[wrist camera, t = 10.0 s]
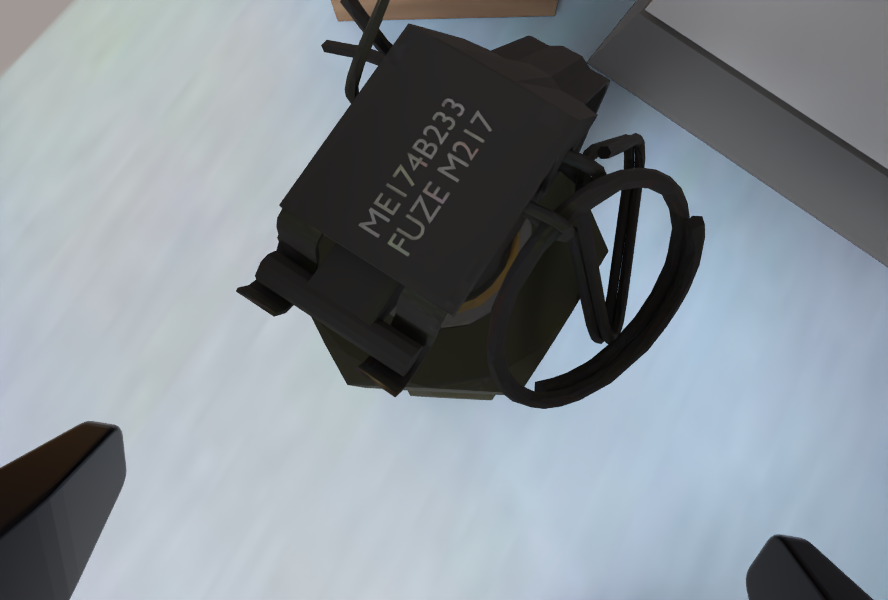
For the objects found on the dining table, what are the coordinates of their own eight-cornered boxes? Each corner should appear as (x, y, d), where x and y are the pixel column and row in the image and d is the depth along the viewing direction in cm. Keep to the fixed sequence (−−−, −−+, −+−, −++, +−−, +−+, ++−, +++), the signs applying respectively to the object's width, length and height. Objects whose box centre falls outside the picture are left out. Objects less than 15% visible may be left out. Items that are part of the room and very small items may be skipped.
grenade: (455, 196, 21) (426, -287, 6) (605, 287, 20) (968, -22, 6) (350, 353, 20) (40, 215, 6) (502, 454, 20) (610, 602, 5)
